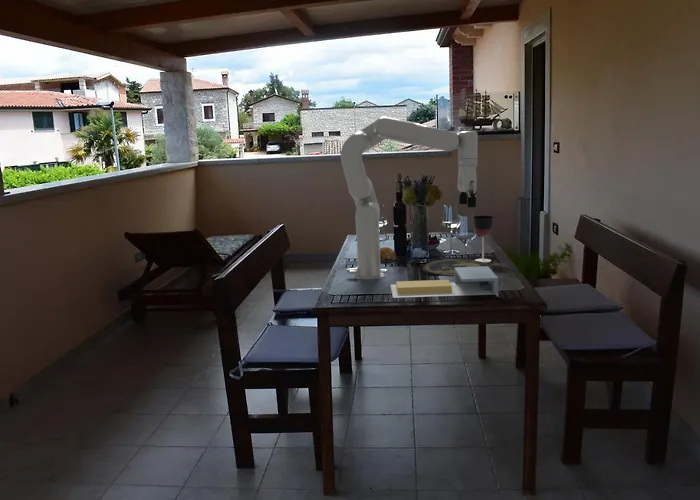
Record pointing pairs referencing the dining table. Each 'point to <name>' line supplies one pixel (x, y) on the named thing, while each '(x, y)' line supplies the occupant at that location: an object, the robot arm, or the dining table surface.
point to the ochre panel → (423, 286)
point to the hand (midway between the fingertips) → (467, 205)
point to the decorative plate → (450, 266)
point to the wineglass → (483, 230)
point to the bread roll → (387, 254)
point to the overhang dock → (464, 283)
